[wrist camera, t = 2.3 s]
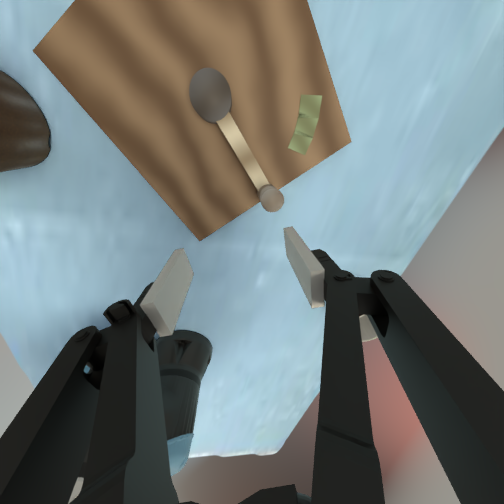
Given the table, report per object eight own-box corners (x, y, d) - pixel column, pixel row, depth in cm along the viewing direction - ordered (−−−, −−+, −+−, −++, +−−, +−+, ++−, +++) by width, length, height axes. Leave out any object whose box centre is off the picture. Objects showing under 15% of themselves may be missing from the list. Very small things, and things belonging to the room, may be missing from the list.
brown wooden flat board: (201, 238, 36) (199, 241, 35) (44, 56, 23) (31, 50, 22) (346, 142, 30) (351, 141, 29) (243, -174, 17) (244, -203, 16)
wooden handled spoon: (186, 93, 25) (169, 74, 18) (216, 67, 24) (209, 36, 17) (257, 207, 32) (262, 220, 26) (283, 190, 31) (294, 200, 25)
